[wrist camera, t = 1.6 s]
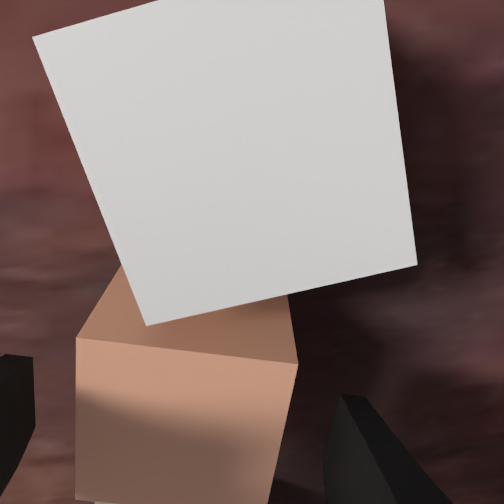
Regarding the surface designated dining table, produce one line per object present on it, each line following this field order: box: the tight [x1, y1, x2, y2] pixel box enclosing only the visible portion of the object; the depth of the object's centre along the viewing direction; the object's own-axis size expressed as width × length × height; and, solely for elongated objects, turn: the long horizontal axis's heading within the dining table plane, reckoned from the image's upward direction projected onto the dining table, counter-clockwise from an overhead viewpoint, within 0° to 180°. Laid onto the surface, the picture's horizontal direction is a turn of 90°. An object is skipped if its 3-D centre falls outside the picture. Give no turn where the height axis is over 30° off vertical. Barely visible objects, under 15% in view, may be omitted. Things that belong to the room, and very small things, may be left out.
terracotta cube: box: [75, 265, 298, 504], centre depth 12 cm, size 4×4×4 cm
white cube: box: [32, 0, 417, 326], centre depth 10 cm, size 5×5×5 cm
